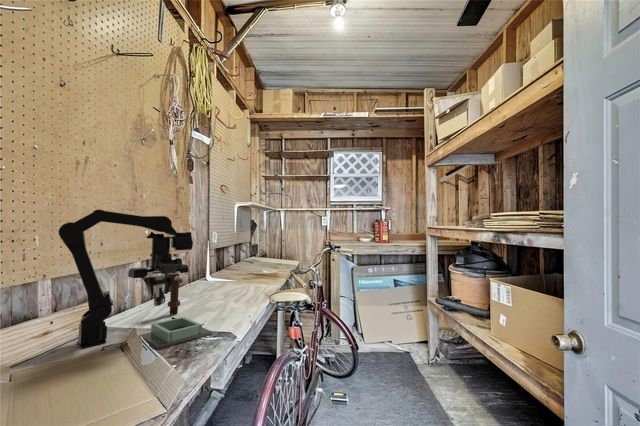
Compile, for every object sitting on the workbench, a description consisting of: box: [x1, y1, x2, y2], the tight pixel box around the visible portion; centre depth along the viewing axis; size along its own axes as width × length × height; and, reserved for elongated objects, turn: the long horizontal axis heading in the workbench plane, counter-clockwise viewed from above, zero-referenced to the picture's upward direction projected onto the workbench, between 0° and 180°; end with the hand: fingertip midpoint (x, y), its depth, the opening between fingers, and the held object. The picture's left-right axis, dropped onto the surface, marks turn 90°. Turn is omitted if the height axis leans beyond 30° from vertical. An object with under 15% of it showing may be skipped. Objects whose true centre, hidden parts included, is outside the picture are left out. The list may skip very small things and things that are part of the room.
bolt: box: [167, 277, 183, 316], centre depth 130 cm, size 6×5×15 cm
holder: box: [150, 316, 203, 343], centre depth 104 cm, size 11×13×3 cm
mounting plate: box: [139, 326, 212, 350], centre depth 104 cm, size 18×14×1 cm
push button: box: [153, 274, 167, 307], centre depth 108 cm, size 7×5×10 cm
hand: (159, 294), depth 108 cm, fingers closed on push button, 4 cm apart
